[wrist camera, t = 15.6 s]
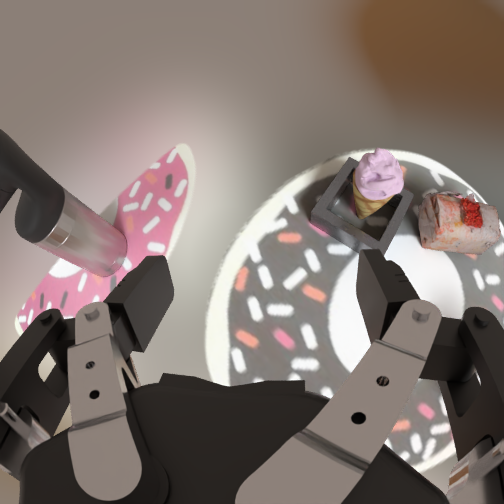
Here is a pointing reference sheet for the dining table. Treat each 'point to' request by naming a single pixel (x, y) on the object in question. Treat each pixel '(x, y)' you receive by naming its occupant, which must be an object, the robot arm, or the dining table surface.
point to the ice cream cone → (376, 181)
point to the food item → (457, 224)
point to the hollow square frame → (347, 231)
